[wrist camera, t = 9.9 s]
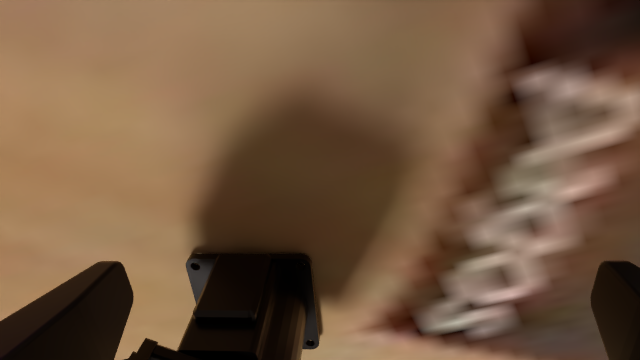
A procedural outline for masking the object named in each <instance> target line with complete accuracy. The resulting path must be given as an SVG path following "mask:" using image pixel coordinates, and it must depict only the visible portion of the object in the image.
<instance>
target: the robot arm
mask: <svg viewBox="0 0 640 360" xmlns="http://www.w3.org/2000/svg"><path fill="white" fill-rule="evenodd" d="M300 262H301V263H304V264H305V265H299V264H298V263H300ZM194 263H197V264H199V265H196V264H194ZM186 268H187V272H188V276H189V279H190V283H191V287H192V290H193V294H194V298H195V301H196V306H195V308H194V311H193V315H192V317H191V320H190V322H189V324H188V326H187V329H186V331H185V333H184V336H183V338H182V340H181V343H180V345H179V347H178V350H177V351H175V350H172V349H170V348H167V347H164V346H161V345H158V342H156V341H153V340H150V339H147V338H145V340H144V342H143V343H142V345H141V347H140V348H139V350H138V352H137V353H136V352H132V354H131V356H130V357H129V358H128V359H124V360H301V354H302V349H315V348H317V347H318V346H319V340H320V336H319V326H318V317H317V308H316V299H315V289H314V280H313V271H312V262H311V259H310V257H309V256H307V255H305V254H193V255H191V256H190V257H189V259H188V260H187V262H186ZM132 304H133V291H132V288H131V285H130V282H129V279H128V277H127V274H126V271H125V268H124V266H123V264H122V263H120V262H118V261H101V262H98V263H96V264H94V265H93V266H91V267H89V268H88V269H86V270H84V271H83V272H81V273H79V274H78V275H76V276H74V277H73V278H71V279H69V280H68V281H66V282H65V283H63V284H61V285H60V286H58V287H56V288H55V289H53V290H51V291H50V292H48V293H46V294H45V295H43V296H41V297H40V298H38V299H36V300H35V301H33V302H31V303H30V304H28V305H26V306H25V307H23V308H22V309H20V310H18V311H17V312H15V313H13V314H12V315H10V316H8V317H7V318H5V319H3V320H2V321H0V360H114V358H115V355H116V352H117V349H118V346H119V343H120V340H121V337H122V334H123V331H124V328H125V325H126V322H127V319H128V316H129V313H130V310H131V307H132ZM591 307H592V311H593V314H594V317H595V320H596V323H597V326H598V329H599V332H600V335H601V338H602V341H603V344H604V347H605V350H606V353H607V356H608V359H609V360H640V268H639V267H638V266H636V265H634V264H633V263H631V262H628V261H603V262H602V263H601V264H600V265H599V268H598V271H597V274H596V278H595V282H594V285H593V289H592V293H591ZM310 340H312V341H310Z"/></svg>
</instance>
